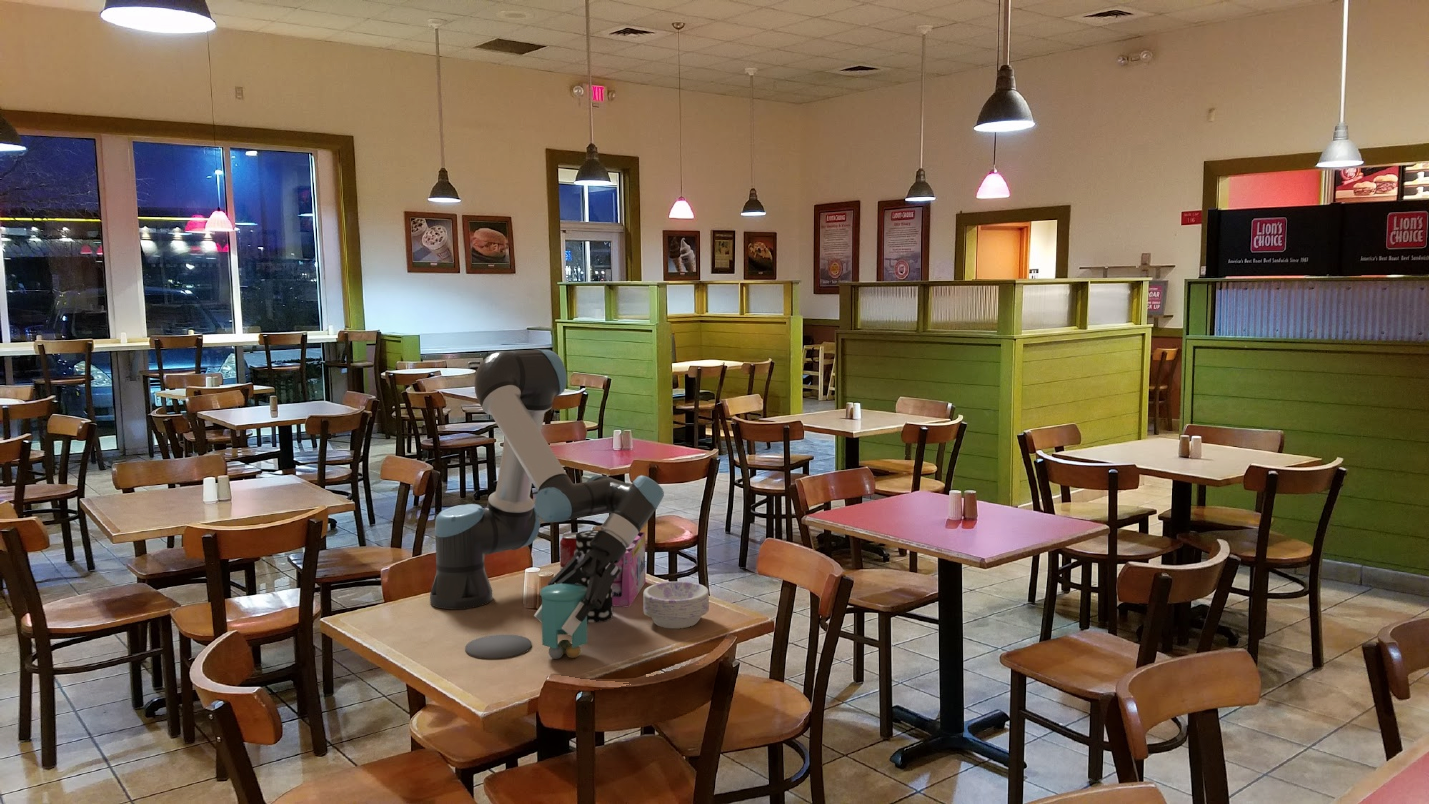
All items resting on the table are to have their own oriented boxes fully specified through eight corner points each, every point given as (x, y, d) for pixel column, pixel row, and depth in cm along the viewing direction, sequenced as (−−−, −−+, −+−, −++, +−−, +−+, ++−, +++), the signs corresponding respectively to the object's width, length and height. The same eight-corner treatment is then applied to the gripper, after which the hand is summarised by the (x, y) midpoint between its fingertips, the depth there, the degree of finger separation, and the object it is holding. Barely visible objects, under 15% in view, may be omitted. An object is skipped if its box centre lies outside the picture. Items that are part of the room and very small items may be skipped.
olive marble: (555, 655, 218) (554, 641, 217) (560, 650, 220) (560, 637, 220) (568, 656, 217) (568, 642, 217) (573, 651, 220) (573, 638, 219)
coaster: (453, 656, 217) (453, 653, 217) (483, 635, 231) (483, 632, 231) (515, 661, 214) (514, 658, 214) (541, 639, 228) (541, 636, 228)
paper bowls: (648, 635, 230) (647, 601, 229) (639, 615, 245) (639, 582, 244) (714, 631, 233) (714, 597, 232) (702, 611, 248) (702, 579, 247)
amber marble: (563, 659, 215) (563, 645, 215) (569, 654, 218) (568, 641, 218) (577, 660, 214) (577, 646, 214) (582, 655, 217) (582, 642, 217)
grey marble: (546, 660, 215) (546, 646, 214) (552, 655, 217) (551, 641, 217) (560, 661, 214) (559, 647, 214) (565, 656, 217) (565, 642, 216)
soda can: (567, 583, 272) (567, 539, 271) (556, 578, 277) (555, 534, 276) (590, 579, 276) (589, 535, 275) (578, 574, 281) (577, 531, 280)
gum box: (629, 608, 250) (628, 554, 249) (597, 608, 251) (596, 553, 250) (646, 582, 274) (645, 531, 273) (617, 581, 275) (616, 531, 273)
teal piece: (541, 634, 221) (540, 584, 219) (587, 632, 222) (587, 582, 221) (540, 650, 211) (540, 597, 210) (588, 647, 212) (588, 596, 211)
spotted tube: (615, 612, 247) (614, 530, 245) (608, 623, 239) (607, 538, 237) (581, 611, 248) (580, 529, 246) (573, 621, 240) (572, 537, 238)
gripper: (655, 559, 216) (594, 649, 208) (593, 539, 233) (534, 622, 224) (635, 539, 212) (571, 629, 204) (573, 520, 229) (512, 603, 220)
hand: (552, 625), depth 214 cm, fingers closed on teal piece, 10 cm apart
